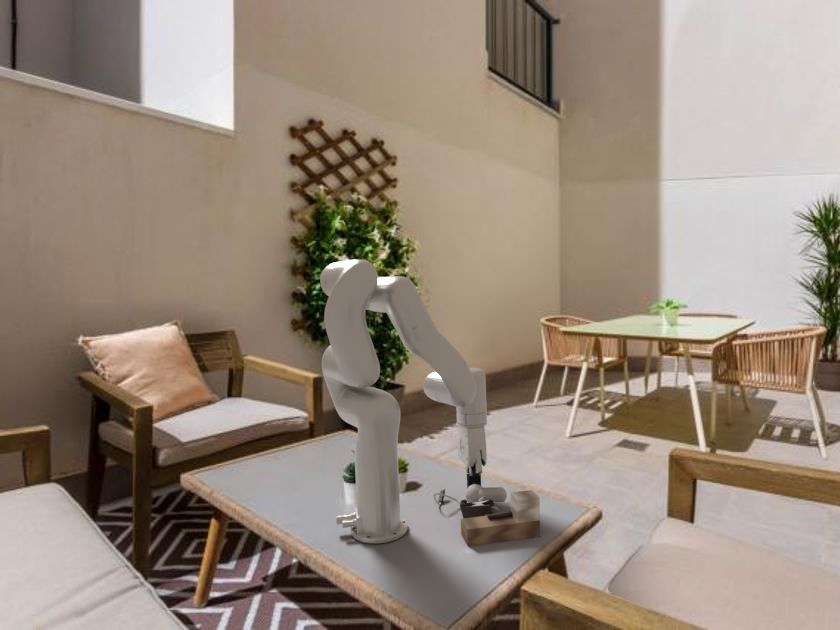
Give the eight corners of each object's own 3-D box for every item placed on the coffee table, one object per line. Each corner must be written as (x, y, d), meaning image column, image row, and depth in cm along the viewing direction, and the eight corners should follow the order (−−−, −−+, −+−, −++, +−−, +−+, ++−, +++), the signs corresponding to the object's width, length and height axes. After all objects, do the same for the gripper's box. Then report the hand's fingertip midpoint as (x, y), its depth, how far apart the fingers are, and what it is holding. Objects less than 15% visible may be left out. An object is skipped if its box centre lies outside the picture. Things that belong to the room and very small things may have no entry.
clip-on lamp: (426, 523, 123) (492, 524, 113) (419, 498, 123) (484, 496, 113) (451, 500, 133) (513, 500, 123) (444, 477, 133) (506, 474, 123)
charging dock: (467, 546, 106) (466, 505, 106) (459, 531, 113) (458, 493, 112) (540, 536, 109) (539, 497, 109) (528, 522, 116) (527, 485, 115)
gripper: (449, 412, 135) (452, 480, 136) (465, 427, 120) (468, 503, 122) (476, 409, 137) (479, 477, 138) (496, 424, 122) (498, 499, 123)
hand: (474, 489), depth 130 cm, fingers closed
